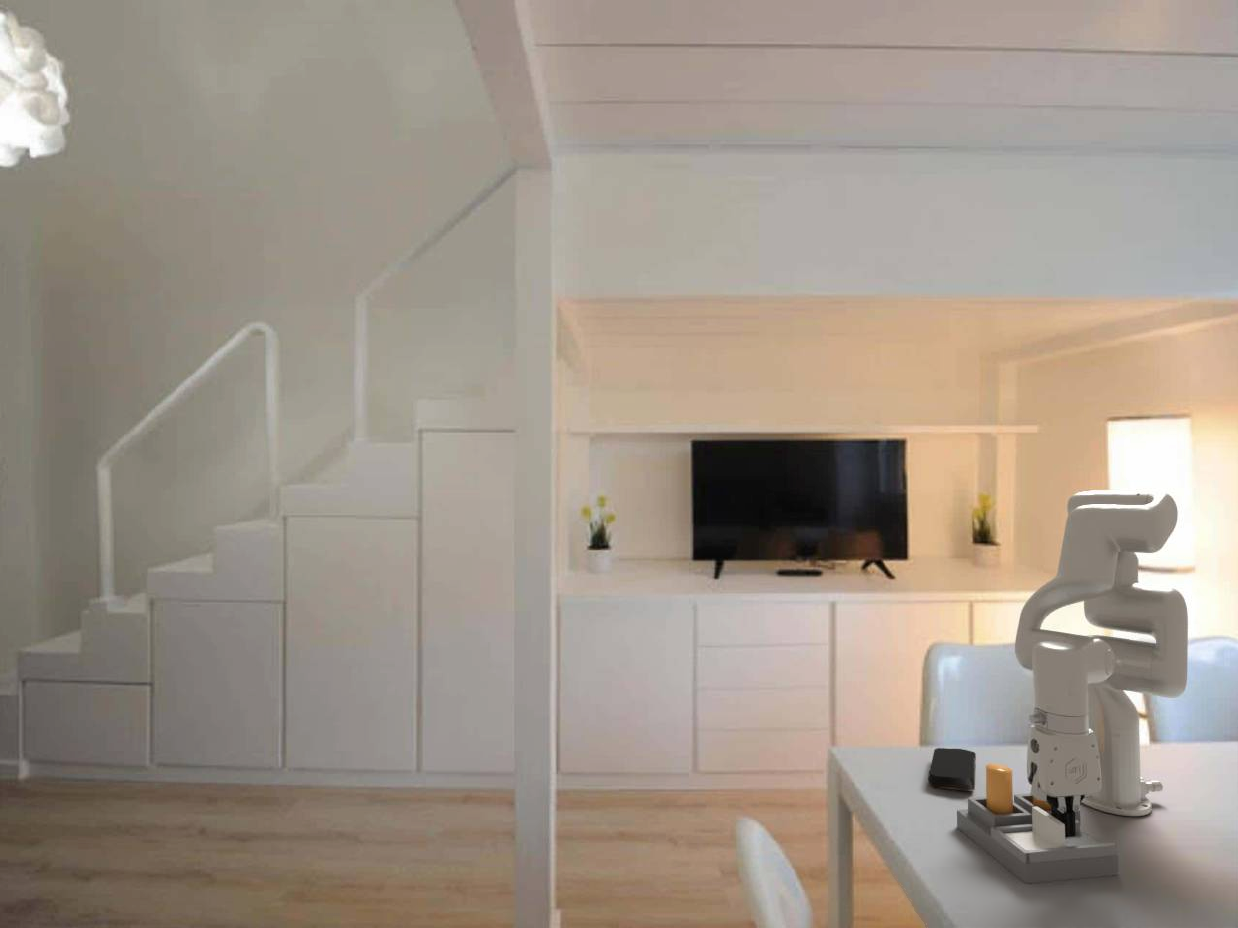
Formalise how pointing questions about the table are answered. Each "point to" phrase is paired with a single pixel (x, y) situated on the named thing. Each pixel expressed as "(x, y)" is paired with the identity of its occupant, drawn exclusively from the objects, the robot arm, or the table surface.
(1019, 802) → the housing
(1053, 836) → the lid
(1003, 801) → the peg
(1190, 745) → the table surface
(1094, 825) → the table surface
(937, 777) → the black sponge
